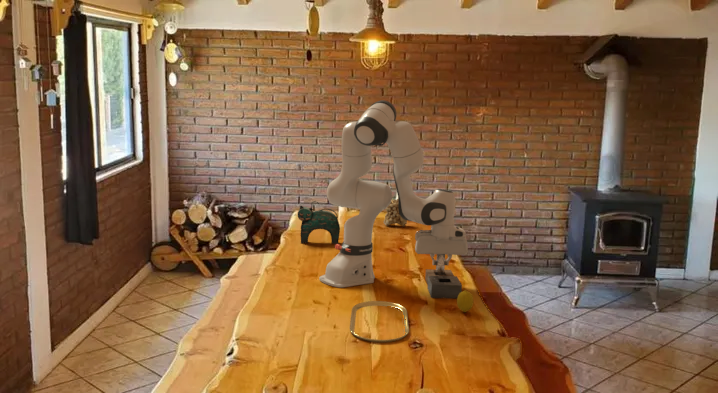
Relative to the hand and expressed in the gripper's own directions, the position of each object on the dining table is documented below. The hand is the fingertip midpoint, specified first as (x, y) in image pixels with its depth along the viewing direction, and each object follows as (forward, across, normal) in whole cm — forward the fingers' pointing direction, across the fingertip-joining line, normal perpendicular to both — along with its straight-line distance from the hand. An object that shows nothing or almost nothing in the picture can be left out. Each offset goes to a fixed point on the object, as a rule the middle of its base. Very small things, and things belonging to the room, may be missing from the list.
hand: (440, 264), depth 267 cm
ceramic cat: (+8, -48, +58) cm, 76 cm away
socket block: (+7, 0, 0) cm, 7 cm away
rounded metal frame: (+8, -27, -43) cm, 51 cm away
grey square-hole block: (+7, 0, -12) cm, 14 cm away
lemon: (+8, +4, -32) cm, 33 cm away
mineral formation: (+7, -8, +96) cm, 97 cm away
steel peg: (+7, 0, 0) cm, 7 cm away
